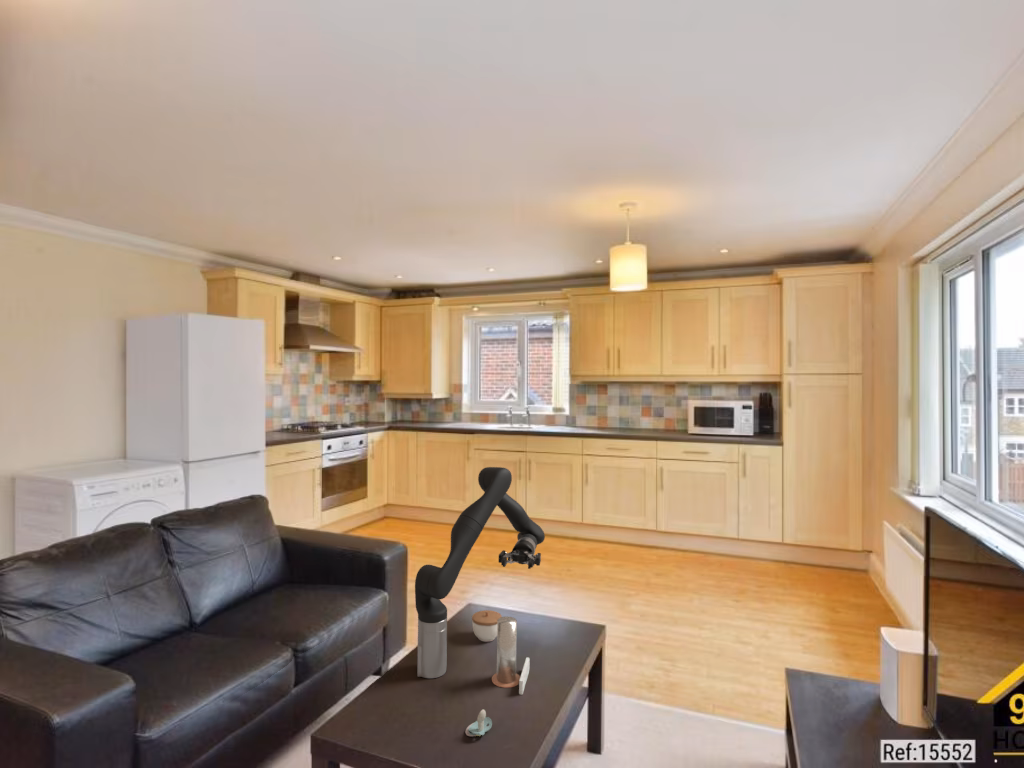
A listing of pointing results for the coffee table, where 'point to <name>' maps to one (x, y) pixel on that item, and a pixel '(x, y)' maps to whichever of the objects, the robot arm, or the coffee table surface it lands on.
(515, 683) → the terracotta coaster
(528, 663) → the acrylic wall
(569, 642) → the coffee table surface
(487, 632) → the lidded jar
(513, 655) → the metal tin
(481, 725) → the pacifier
